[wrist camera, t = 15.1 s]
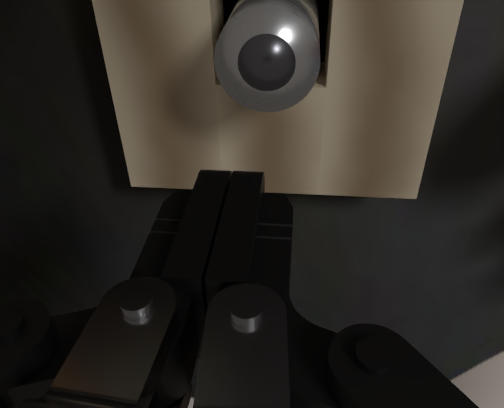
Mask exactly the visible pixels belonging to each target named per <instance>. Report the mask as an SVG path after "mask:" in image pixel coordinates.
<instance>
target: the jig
mask: <svg viewBox="0 0 504 408" xmlns="http://www.w3.org/2000/svg"><path fill="white" fill-rule="evenodd" d="M463 2H464V0H329V9H328V22H327V36H326V49H325V62H320V69H319V74H318V77H317V80H316V82H315V84H314V86H313V88H312V89H311V91H310V92H309V93H308V95H307V96H306V97H305V98H304V99H303V100H301V101H300V102H299V103H297V104H296V105H294V106H292V107H290V108H288V109H285V110H282V111H277V112H259V111H254V110H251V109H248V108H246V107H244V106H242V105H240V104H239V103H237V102H236V101H234V100H233V99H232V98H231V97H230V96H229V95H228V94H227V93H226V92H225V90H224V89H223V87H222V86H221V84H220V82H219V80H218V77H217V74H216V71H215V65H214V53H215V47H216V43H217V41H218V38H219V36H220V34H221V32H222V30H223V28H224V10H223V0H92V4H93V8H94V13H95V18H96V22H97V27H98V32H99V37H100V41H101V46H102V51H103V56H104V60H105V65H106V70H107V75H108V79H109V84H110V89H111V93H112V98H113V103H114V108H115V112H116V117H117V122H118V127H119V131H120V136H121V141H122V145H123V150H124V155H125V160H126V164H127V169H128V174H129V179H130V183H131V187H153V188H176V189H193V187H194V184H195V181H196V179H197V176H198V173H199V171H200V170H201V169H202V170H227V171H232V172H233V171H255V172H264V176H265V192H268V193H291V194H314V195H337V196H360V197H383V198H406V199H417V194H418V190H419V186H420V182H421V178H422V174H423V169H424V165H425V161H426V157H427V153H428V148H429V144H430V140H431V136H432V132H433V127H434V123H435V119H436V115H437V111H438V107H439V102H440V98H441V94H442V90H443V86H444V81H445V77H446V73H447V69H448V65H449V60H450V56H451V52H452V48H453V44H454V40H455V35H456V31H457V27H458V23H459V19H460V14H461V10H462V6H463Z"/></svg>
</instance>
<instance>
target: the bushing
mask: <svg viewBox="0 0 504 408" xmlns="http://www.w3.org/2000/svg"><path fill="white" fill-rule="evenodd" d="M214 65H215V71H216V74H217V77H218V80H219V82H220V84H221V86H222V87H223V89H224V90H225V92H226V93H227V94H228V95H229V96H230V97H231V98H232V99H233V100H234V101H236V102H237V103H239V104H240V105H242V106H244V107H246V108H248V109H251V110H254V111H259V112H277V111H282V110H285V109H288V108H290V107H292V106H294V105H296V104H297V103H299V102H300V101H301V100H303V99H304V98H305V97H306V96H307V95H308V93H309V92H310V91H311V89H312V88H313V86H314V84H315V82H316V80H317V77H318V74H319V69H320V43H319V21H318V2H317V0H238V2H237V4H236V5H235V7H234V9H233V11H232V13H231V15H230V17H229V19H228V21H227V22H226V24H225V26H224V28H223V30H222V32H221V34H220V36H219V38H218V41H217V43H216V47H215V53H214Z"/></svg>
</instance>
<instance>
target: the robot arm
mask: <svg viewBox="0 0 504 408" xmlns="http://www.w3.org/2000/svg"><path fill="white" fill-rule="evenodd" d="M292 227H293V207H292V205H291V203H290V202H289V200H288V198H287V197H286V195H285V194H274V193H265V176H264V172H255V171H233V172H232V171H227V170H202V169H201V170H200V171H199V173H198V176H197V179H196V181H195V184H194V187H193V190H180V189H177V190H176V191H175V192H174V193H173V194H172V195H171V196H170V197H168V198H167V199H166V200H165V201H164V202H163V204H162V206H161V208H160V211H159V213H158V215H157V220H155V222H154V224H153V226H152V229H151V233H149V236H148V238H147V240H146V242H145V245H144V247H143V249H142V252H141V254H140V256H139V258H138V261H137V263H136V265H135V267H134V270H133V272H132V274H131V277H130V279H128V280H125V281H123V282H120V283H118V284H117V285H115V286H114V287H112V288H111V289H110V290H109V291H108V292H107V293H106V294H105V295H104V296H103V297H102V299H101V300H100V302H99V304H98V306H97V307H94V308H91V309H87V310H83V311H78V312H73V313H68V314H62V315H57V316H52V317H51V315H50V313H49V311H48V309H47V307H46V306H45V305H44V304H43V303H41V302H39V301H37V300H34V299H28V298H19V299H12V300H8V301H5V302H2V303H0V408H188V405H189V402H190V398H191V394H192V384H191V381H192V377H193V373H194V369H195V364H196V360H197V359H200V362H199V369H198V376H197V383H196V391H195V398H194V405H193V408H479V407H478V406H476V405H475V404H474V403H473V402H472V401H471V400H470V399H469V398H468V397H467V396H466V395H465V394H464V393H462V392H461V391H460V390H459V389H458V388H457V387H456V386H455V385H454V384H452V382H451V381H450V380H448V379H447V378H446V377H445V376H444V375H443V374H442V373H441V372H440V371H439V370H438V369H437V368H435V367H434V366H433V365H432V364H431V363H430V362H429V361H428V360H427V359H426V358H425V357H424V356H422V355H421V354H420V353H419V352H418V351H417V350H416V349H415V348H414V347H413V346H412V345H411V344H409V343H408V342H407V341H406V340H405V339H404V338H403V337H401V336H400V335H399V334H397V333H396V332H394V331H392V330H390V329H388V328H386V327H383V326H379V325H375V324H356V325H352V326H349V327H347V328H344V329H343V330H341V331H340V332H338V333H335V332H333V331H330V330H327V329H324V328H322V327H319V326H317V325H314V324H312V323H311V322H309V321H307V320H306V319H305V318H303V317H302V316H301V315H300V314H299V313H298V312H297V311H296V310H295V308H294V307H293V305H292V303H291V301H290V297H289V289H290V271H291V251H292Z"/></svg>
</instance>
